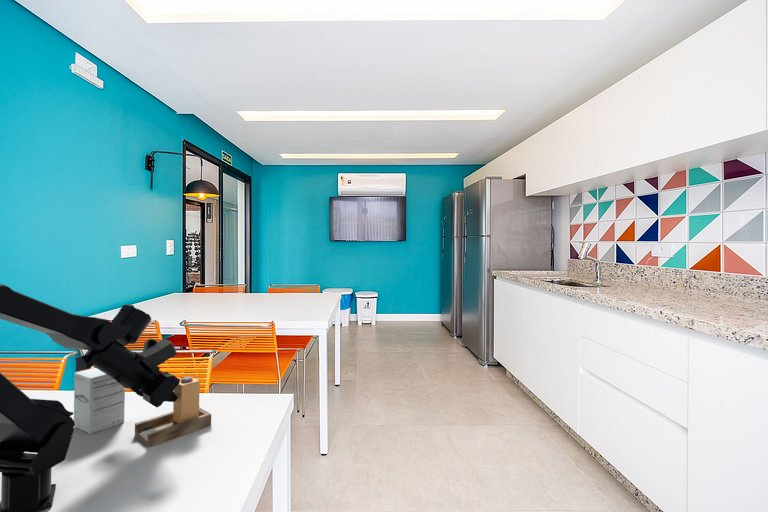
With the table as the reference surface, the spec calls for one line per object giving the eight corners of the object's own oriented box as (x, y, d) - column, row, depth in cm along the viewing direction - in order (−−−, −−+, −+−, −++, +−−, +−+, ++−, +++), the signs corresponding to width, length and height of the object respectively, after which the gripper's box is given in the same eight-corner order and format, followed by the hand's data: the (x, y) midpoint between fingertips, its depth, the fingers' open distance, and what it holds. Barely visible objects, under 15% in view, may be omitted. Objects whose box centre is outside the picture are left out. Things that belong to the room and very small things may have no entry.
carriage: (181, 425, 82) (181, 382, 82) (173, 419, 85) (173, 378, 85) (198, 418, 86) (199, 378, 85) (190, 414, 88) (191, 374, 88)
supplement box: (72, 427, 84) (73, 372, 83) (109, 414, 90) (109, 363, 90) (88, 435, 80) (89, 378, 80) (125, 421, 87) (126, 368, 87)
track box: (149, 448, 75) (149, 435, 75) (134, 435, 80) (134, 423, 80) (211, 425, 86) (211, 414, 86) (194, 415, 91) (194, 404, 91)
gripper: (170, 337, 73) (221, 377, 82) (134, 324, 85) (183, 361, 93) (123, 387, 67) (185, 425, 76) (91, 366, 78) (148, 401, 87)
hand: (175, 399), depth 83 cm, fingers closed, pressing on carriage
